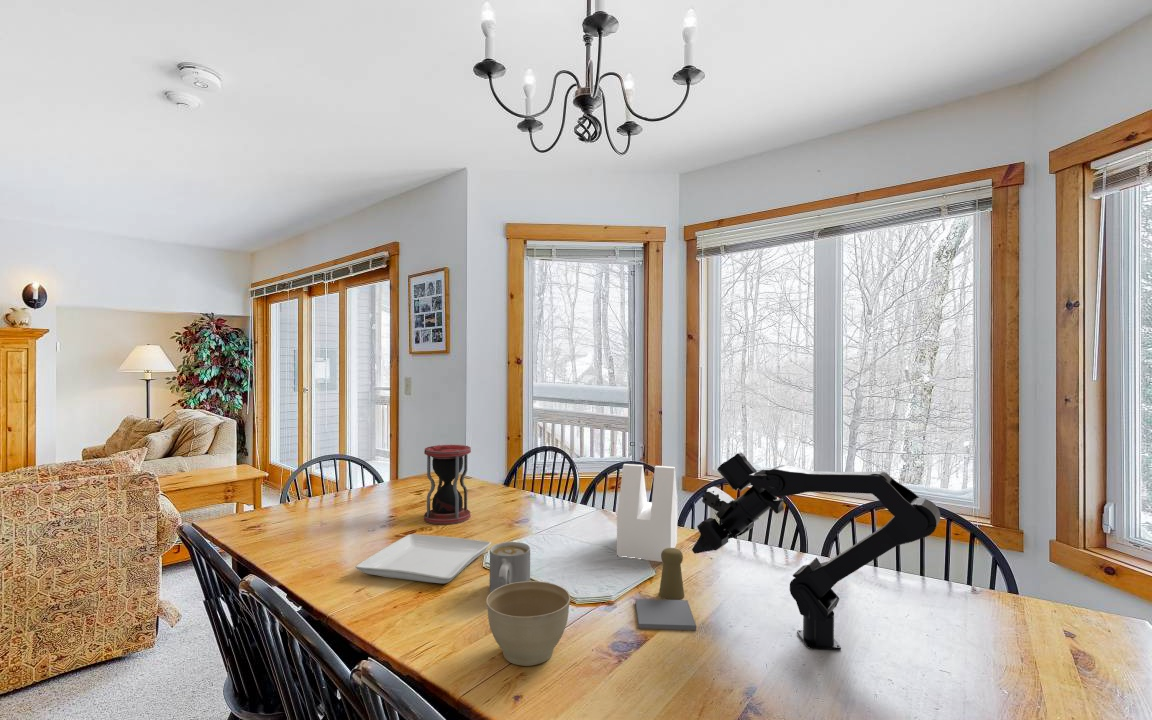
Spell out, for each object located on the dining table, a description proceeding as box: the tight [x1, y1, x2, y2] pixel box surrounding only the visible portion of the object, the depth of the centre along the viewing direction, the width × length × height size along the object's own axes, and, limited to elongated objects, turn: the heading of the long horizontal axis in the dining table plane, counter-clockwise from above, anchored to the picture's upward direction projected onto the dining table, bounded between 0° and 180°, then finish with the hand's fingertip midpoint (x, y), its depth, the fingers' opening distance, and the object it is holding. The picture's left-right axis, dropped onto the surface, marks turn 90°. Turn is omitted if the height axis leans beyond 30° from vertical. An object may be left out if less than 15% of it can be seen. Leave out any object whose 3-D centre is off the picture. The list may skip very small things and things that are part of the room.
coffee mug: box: [489, 541, 531, 594], centre depth 132 cm, size 13×10×10 cm
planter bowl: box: [485, 580, 571, 667], centre depth 104 cm, size 16×16×11 cm
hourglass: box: [423, 444, 472, 525], centre depth 192 cm, size 16×16×25 cm
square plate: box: [354, 533, 492, 585], centre depth 149 cm, size 27×27×4 cm
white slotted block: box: [616, 463, 678, 563], centre depth 163 cm, size 19×15×25 cm
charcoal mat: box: [635, 598, 697, 631], centre depth 120 cm, size 12×12×1 cm
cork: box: [658, 547, 685, 600], centre depth 131 cm, size 6×6×11 cm
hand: (702, 546), depth 126 cm, fingers open, 9 cm apart
